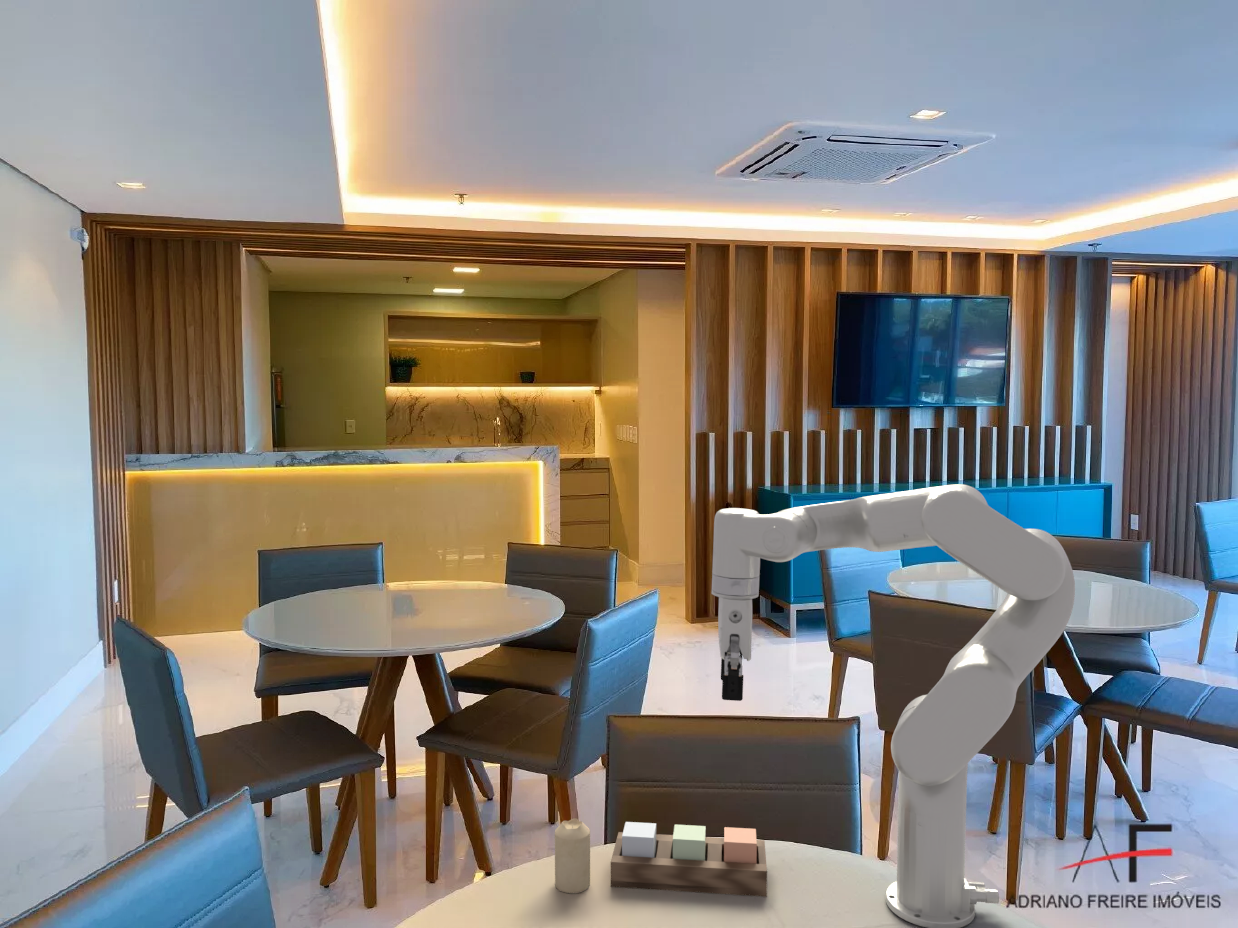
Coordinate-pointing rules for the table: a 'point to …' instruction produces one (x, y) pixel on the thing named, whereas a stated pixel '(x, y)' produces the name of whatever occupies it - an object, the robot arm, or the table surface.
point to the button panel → (690, 870)
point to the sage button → (689, 842)
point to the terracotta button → (740, 845)
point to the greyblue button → (639, 839)
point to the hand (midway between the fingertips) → (731, 689)
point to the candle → (572, 856)
